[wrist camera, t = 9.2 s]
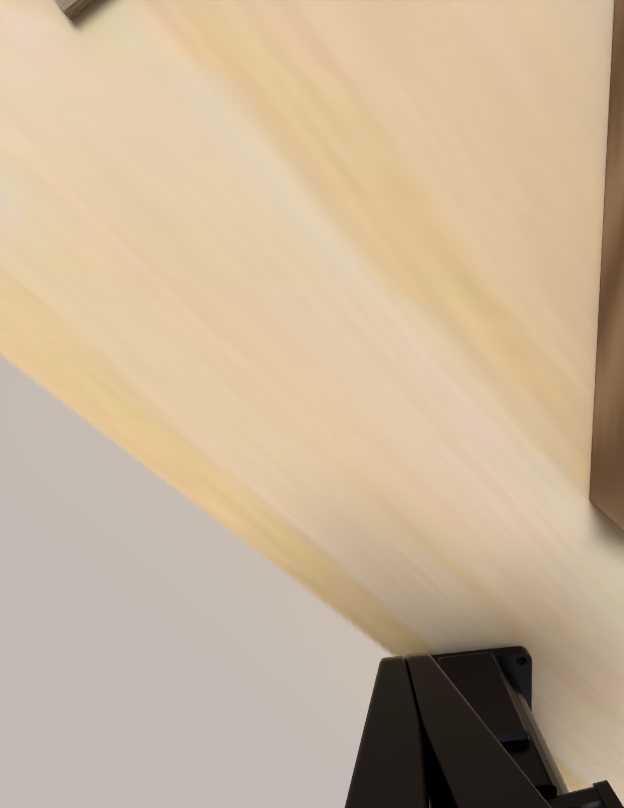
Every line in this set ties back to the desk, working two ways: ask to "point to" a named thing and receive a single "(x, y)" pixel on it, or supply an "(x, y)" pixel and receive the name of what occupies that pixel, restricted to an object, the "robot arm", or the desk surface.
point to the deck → (611, 308)
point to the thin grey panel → (73, 6)
